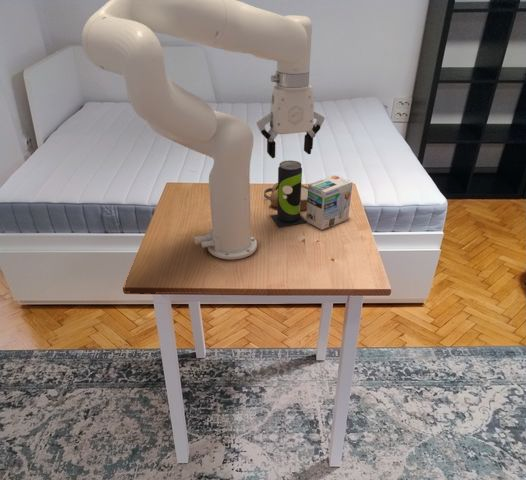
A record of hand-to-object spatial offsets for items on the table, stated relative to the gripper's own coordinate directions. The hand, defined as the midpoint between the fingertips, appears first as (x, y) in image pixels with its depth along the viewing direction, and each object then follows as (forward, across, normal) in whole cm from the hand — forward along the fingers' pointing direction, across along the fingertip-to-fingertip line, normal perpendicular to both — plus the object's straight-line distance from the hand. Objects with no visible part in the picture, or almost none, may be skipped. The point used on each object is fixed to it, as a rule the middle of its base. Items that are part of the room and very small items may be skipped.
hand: (289, 154), depth 127 cm
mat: (+18, 0, 0) cm, 18 cm away
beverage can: (+18, +1, 0) cm, 18 cm away
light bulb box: (+18, +10, -4) cm, 21 cm away
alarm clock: (+18, +4, +10) cm, 21 cm away
